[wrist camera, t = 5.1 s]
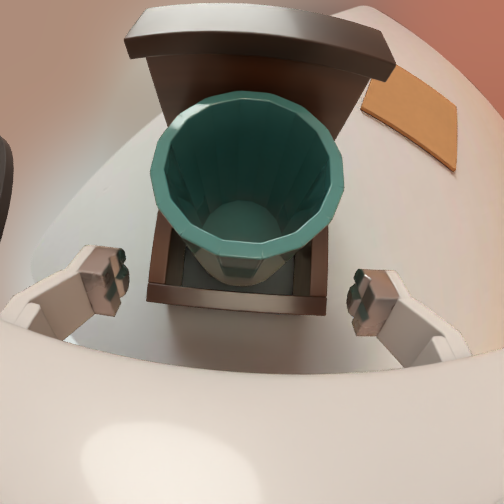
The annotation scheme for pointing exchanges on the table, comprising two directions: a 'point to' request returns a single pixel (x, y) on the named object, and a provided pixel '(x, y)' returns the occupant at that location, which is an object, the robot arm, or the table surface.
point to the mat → (415, 113)
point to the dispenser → (257, 80)
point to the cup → (246, 182)
